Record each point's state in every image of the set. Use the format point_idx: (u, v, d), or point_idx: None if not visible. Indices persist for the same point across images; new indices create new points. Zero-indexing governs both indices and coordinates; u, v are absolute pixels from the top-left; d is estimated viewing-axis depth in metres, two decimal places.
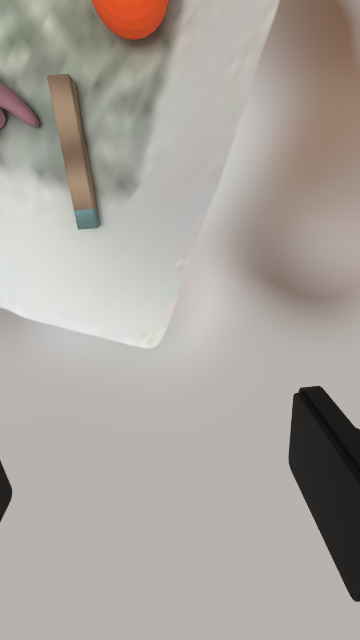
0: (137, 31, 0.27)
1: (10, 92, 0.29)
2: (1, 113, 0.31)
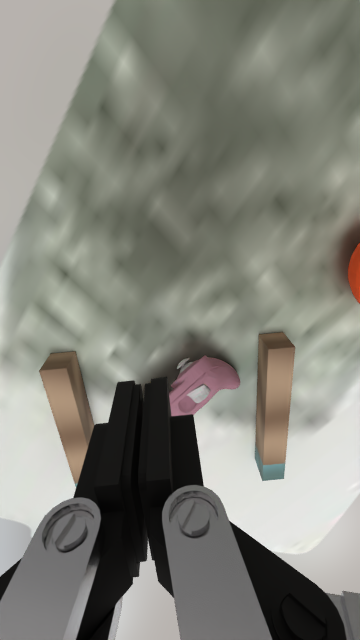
0: None
1: (226, 372, 0.23)
2: None
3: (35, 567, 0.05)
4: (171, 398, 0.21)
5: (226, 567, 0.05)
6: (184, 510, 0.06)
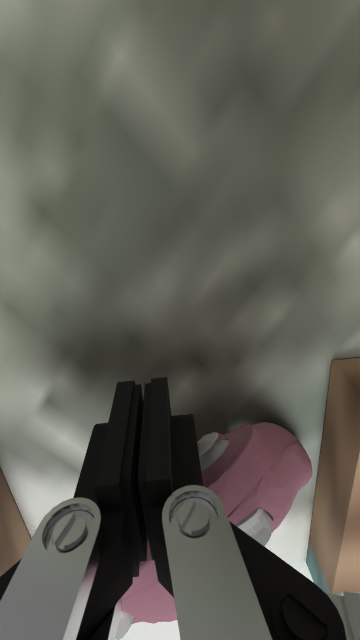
0: None
1: (296, 460, 0.11)
2: None
3: (35, 567, 0.05)
4: None
5: (226, 567, 0.05)
6: (184, 510, 0.06)
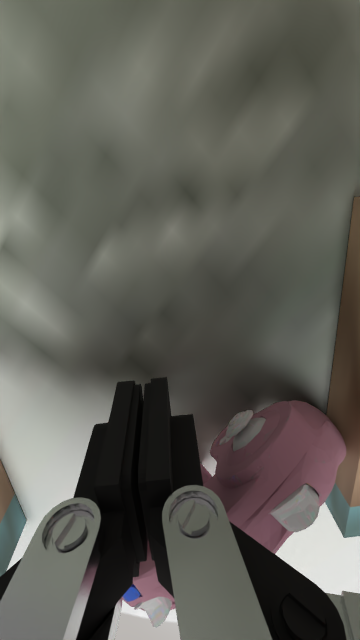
0: None
1: (333, 436, 0.11)
2: None
3: (35, 567, 0.05)
4: None
5: (226, 567, 0.05)
6: (184, 510, 0.06)
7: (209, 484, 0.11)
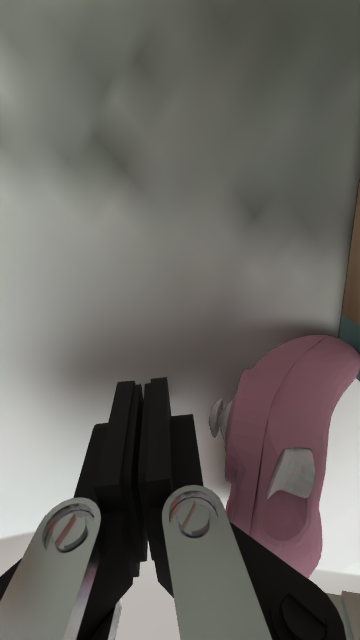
0: None
1: (315, 367, 0.09)
2: None
3: (35, 567, 0.05)
4: (241, 526, 0.08)
5: (226, 567, 0.05)
6: (184, 510, 0.06)
7: None
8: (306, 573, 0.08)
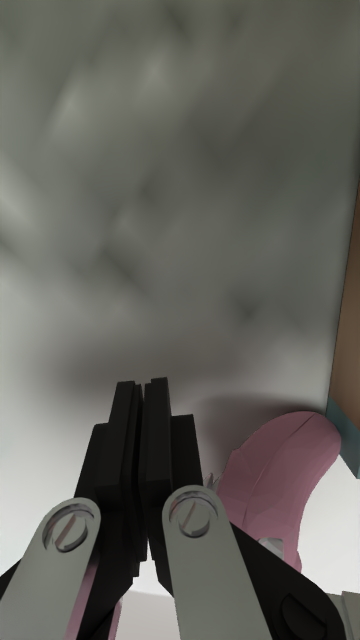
0: None
1: (294, 456, 0.10)
2: None
3: (35, 567, 0.05)
4: None
5: (226, 567, 0.05)
6: (184, 510, 0.06)
7: None
8: None
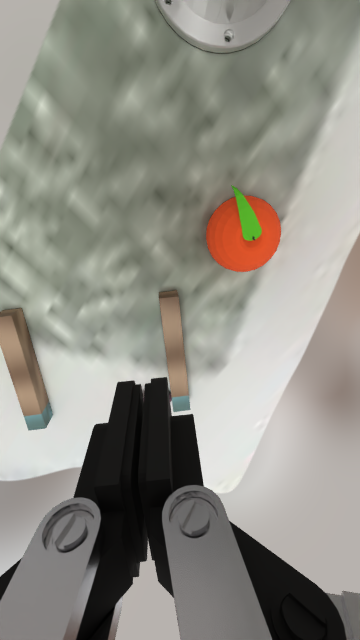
0: None
1: None
2: None
3: (35, 567, 0.05)
4: None
5: (226, 567, 0.05)
6: (184, 510, 0.06)
7: None
8: None
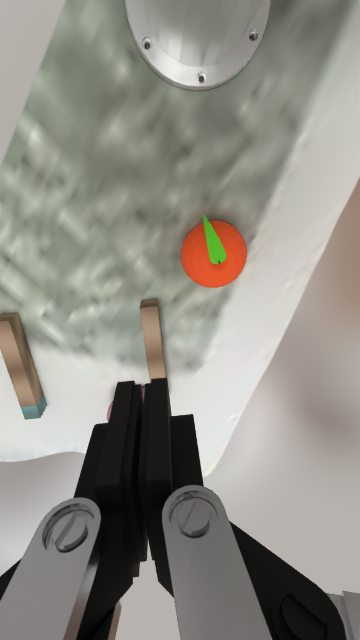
0: None
1: None
2: None
3: (35, 567, 0.05)
4: None
5: (226, 567, 0.05)
6: (184, 510, 0.06)
7: None
8: None
